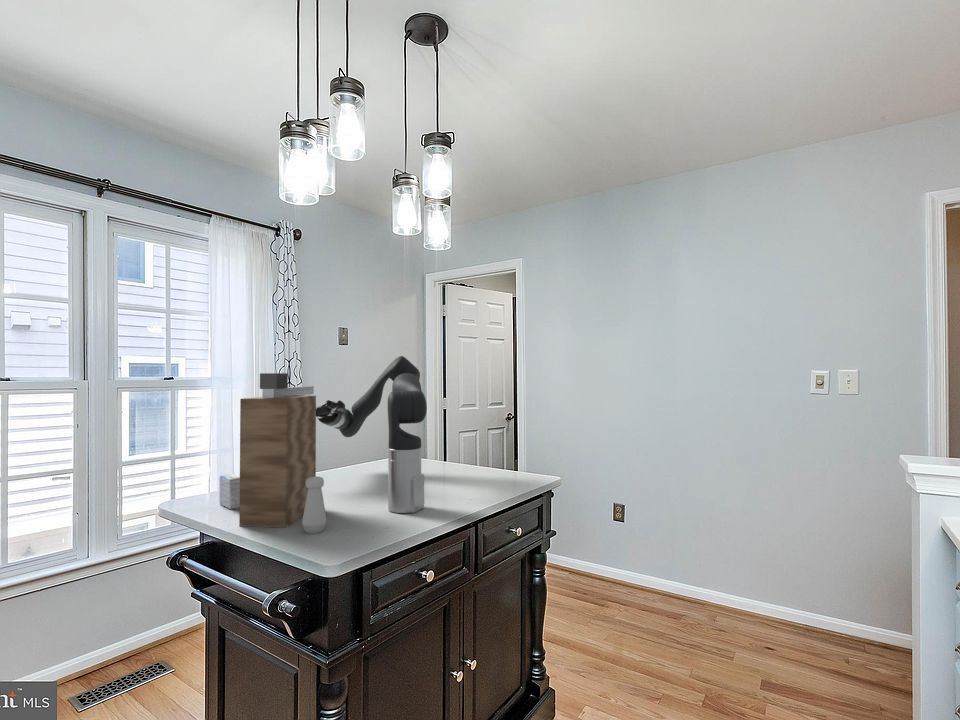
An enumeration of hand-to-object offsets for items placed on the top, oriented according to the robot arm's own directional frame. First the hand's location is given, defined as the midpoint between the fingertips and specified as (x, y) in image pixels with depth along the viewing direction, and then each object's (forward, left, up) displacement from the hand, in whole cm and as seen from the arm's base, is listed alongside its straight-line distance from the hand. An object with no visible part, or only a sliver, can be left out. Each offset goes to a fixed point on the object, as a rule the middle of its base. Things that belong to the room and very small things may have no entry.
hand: (314, 406), depth 163 cm
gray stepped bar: (-7, +19, +4) cm, 21 cm away
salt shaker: (-25, +31, -28) cm, 49 cm away
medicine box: (+13, +20, -28) cm, 37 cm away
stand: (-8, +24, -28) cm, 38 cm away
